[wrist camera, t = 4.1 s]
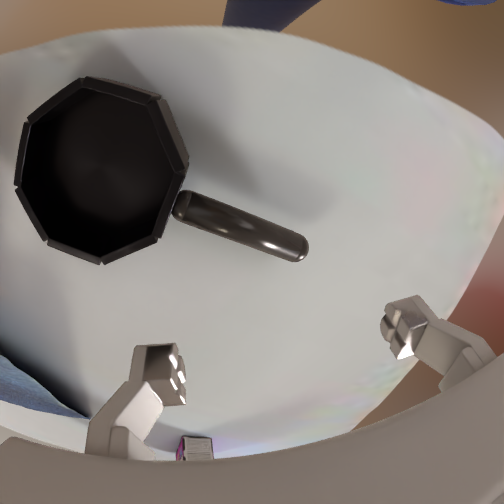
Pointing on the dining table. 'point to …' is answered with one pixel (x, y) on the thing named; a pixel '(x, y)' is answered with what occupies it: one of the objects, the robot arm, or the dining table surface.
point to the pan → (121, 177)
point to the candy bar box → (194, 449)
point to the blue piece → (29, 392)
